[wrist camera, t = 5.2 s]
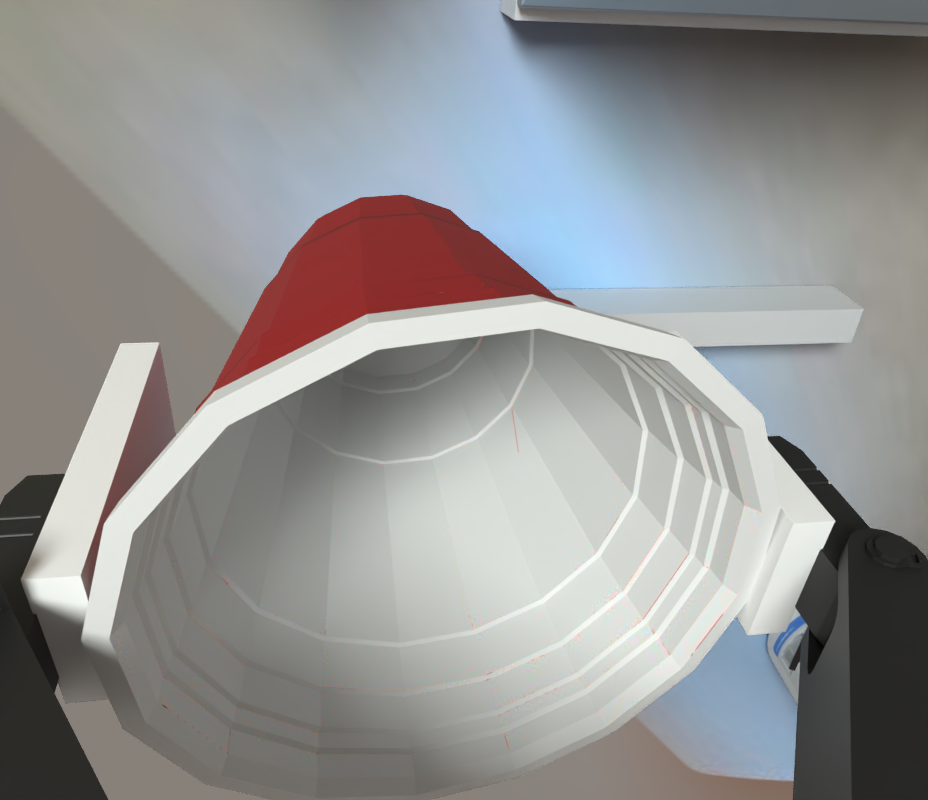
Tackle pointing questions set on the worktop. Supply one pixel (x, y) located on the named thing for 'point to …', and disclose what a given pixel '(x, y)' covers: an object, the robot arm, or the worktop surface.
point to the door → (759, 8)
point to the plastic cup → (425, 526)
